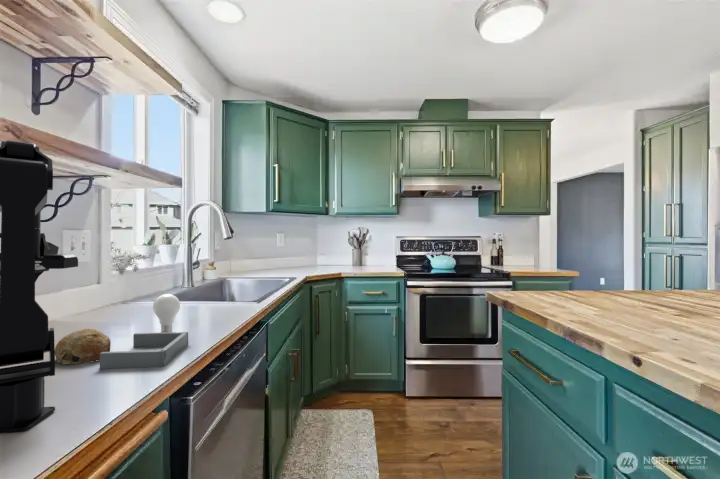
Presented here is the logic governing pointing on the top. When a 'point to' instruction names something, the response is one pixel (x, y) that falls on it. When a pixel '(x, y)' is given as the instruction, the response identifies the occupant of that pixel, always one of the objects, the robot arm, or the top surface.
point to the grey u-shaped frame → (147, 358)
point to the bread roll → (82, 346)
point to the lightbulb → (166, 310)
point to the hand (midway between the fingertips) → (22, 302)
